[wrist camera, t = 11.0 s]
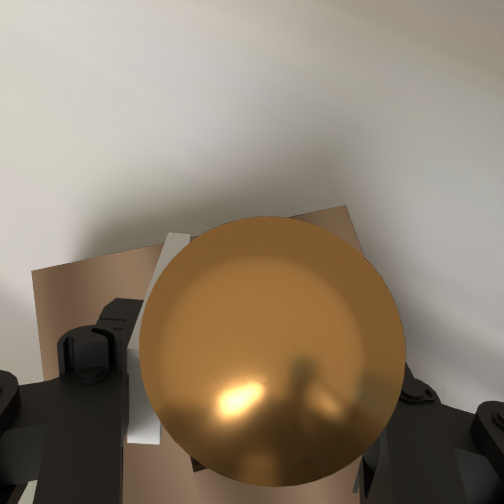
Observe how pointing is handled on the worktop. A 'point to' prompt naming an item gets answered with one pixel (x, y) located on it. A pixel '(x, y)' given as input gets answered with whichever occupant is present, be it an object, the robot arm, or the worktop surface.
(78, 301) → the block
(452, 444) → the robot arm
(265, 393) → the metal pin
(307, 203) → the worktop surface
